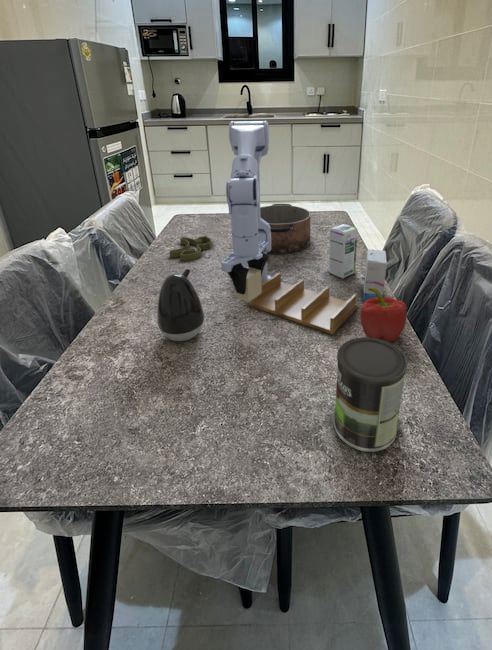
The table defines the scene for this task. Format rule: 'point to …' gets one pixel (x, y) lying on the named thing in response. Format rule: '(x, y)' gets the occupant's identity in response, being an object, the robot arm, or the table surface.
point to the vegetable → (383, 317)
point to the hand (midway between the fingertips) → (248, 288)
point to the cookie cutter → (189, 253)
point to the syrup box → (342, 250)
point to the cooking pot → (287, 227)
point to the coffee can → (368, 393)
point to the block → (251, 285)
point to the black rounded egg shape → (179, 308)
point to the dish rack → (304, 304)
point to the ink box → (374, 273)
